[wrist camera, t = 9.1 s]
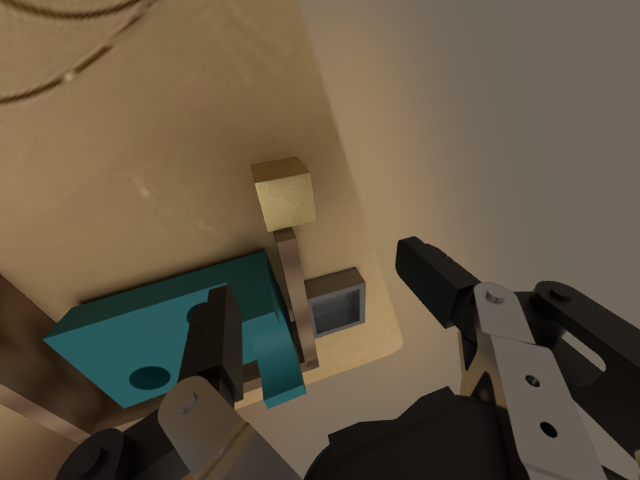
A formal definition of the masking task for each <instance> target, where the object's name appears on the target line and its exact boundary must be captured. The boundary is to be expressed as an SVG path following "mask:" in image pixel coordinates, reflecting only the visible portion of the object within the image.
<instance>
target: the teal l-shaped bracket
mask: <svg viewBox="0 0 640 480" xmlns="http://www.w3.org/2000/svg"><path fill="white" fill-rule="evenodd" d="M227 284H228V285H229V286H230V288H231V290H232V292H233V295H234V297H235V299H236V302H237V304H238V306H239V309H240V312H241V317H242V344H243V365H244V364H246V363H249V362H252V361H255V360H257V362H258V366H259V371H260V376H261V382H262V389H263V400H264V402H265V404H266V406H267V407H268V409H269V408H271V407H274V406H276V405H278V404H281V403H283V402H286V401H289V400H291V399H294V398H296V397H299V396H301V395H304V394H306V390H305V385H304V380H303V376H302V371H301V367H300V362H299V358H298V353H297V349H296V344H295V340H294V335H293V330H292V326H291V321H290V317H289V313H288V310H287V307H286V304H285V301H284V298H283V296H282V293H281V290H280V287H279V284H278V283H277V282H276V279H275V276H274V273H273V270H272V268H271V265H270V262H269V259H268V256H267V253H266V251H265V250H264V251H261V252H258V253H254V254H251V255H247V256H244V257H241V258H237V259H234V260H231V261H227V262H224V263H221V264H217V265H214V266H210V267H207V268H204V269H200V270H197V271H194V272H190V273H187V274H184V275H180V276H177V277H174V278H170V279H167V280H163V281H160V282H157V283H153V284H150V285H147V286H143V287H140V288H137V289H133V290H130V291H127V292H123V293H120V294H116V295H113V296H110V297H106V298H103V299H100V300H96V301H93V302H90V303H86V304H83V305H79V306H76V307H73V308H71V309H70V310H69V311H68V312H67V313H66V314H65V316H64V317H63V318H62V319H61V320H60V321H59V322H58V323H57V324H56V325H55V326H54V327H53V329H52V330H51V331H50V332H49V333H48V334H47V335H46V336H45V337H44V338H43V339H42V340H44V341H45V342H46V343H47V344H48V345H49V346H51V347H52V348H53V349H54V350H55V351H57V352H58V353H59V354H60V355H61V356H62V357H64V358H65V359H66V360H67V361H68V362H70V363H71V364H72V365H73V366H74V367H75V368H77V369H78V370H79V371H80V372H81V373H83V374H84V375H85V376H86V377H87V378H88V379H90V380H91V381H92V382H93V383H94V384H96V385H97V386H98V387H99V388H100V389H101V390H103V391H104V392H105V393H106V394H107V395H109V396H110V397H111V398H112V399H113V400H114V401H116V402H117V403H118V404H119V405H120V406H122V407H123V408H127V407H129V406H132V405H135V404H137V403H140V402H143V401H146V400H148V399H151V398H154V397H156V396H159V395H162V394H165V393H167V392H169V391H170V390H171V389H172V388H173V387H174V386H175V385H176V384H177V381H178V377H179V372H180V367H181V362H182V358H183V353H184V348H185V343H186V340H187V333H188V330H189V324H190V319H191V316H192V314H193V313H194V311H195V310H196V308H197V307H198V305H200V304H203V302H207V299H208V292H209V290H210V289H212V288H216V287H220V286H224V285H227Z"/></svg>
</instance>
